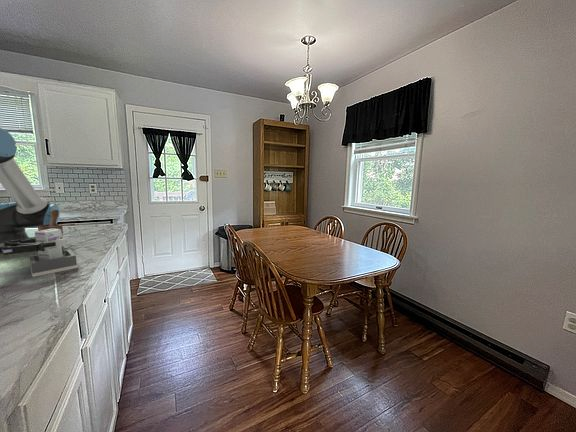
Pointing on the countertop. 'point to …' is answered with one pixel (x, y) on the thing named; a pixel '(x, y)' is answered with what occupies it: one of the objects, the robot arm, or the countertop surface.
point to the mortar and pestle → (52, 222)
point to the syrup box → (48, 236)
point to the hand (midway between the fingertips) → (64, 239)
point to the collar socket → (52, 264)
